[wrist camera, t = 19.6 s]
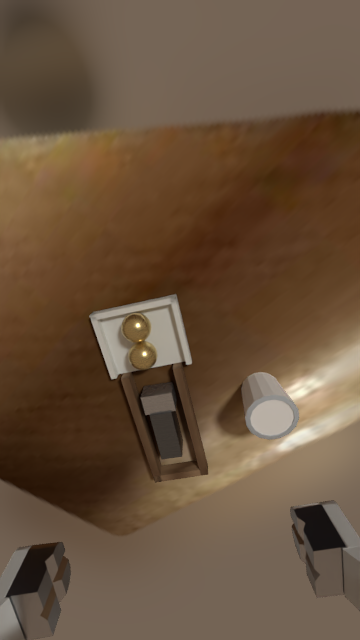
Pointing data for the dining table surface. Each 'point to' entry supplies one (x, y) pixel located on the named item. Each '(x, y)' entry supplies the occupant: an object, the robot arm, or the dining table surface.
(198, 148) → the dining table surface
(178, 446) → the long gray brick
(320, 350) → the dining table surface
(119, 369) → the tray
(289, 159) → the dining table surface
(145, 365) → the brass sphere
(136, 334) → the shiny gold ball
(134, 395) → the slot rail
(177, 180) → the dining table surface
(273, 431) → the white cup
